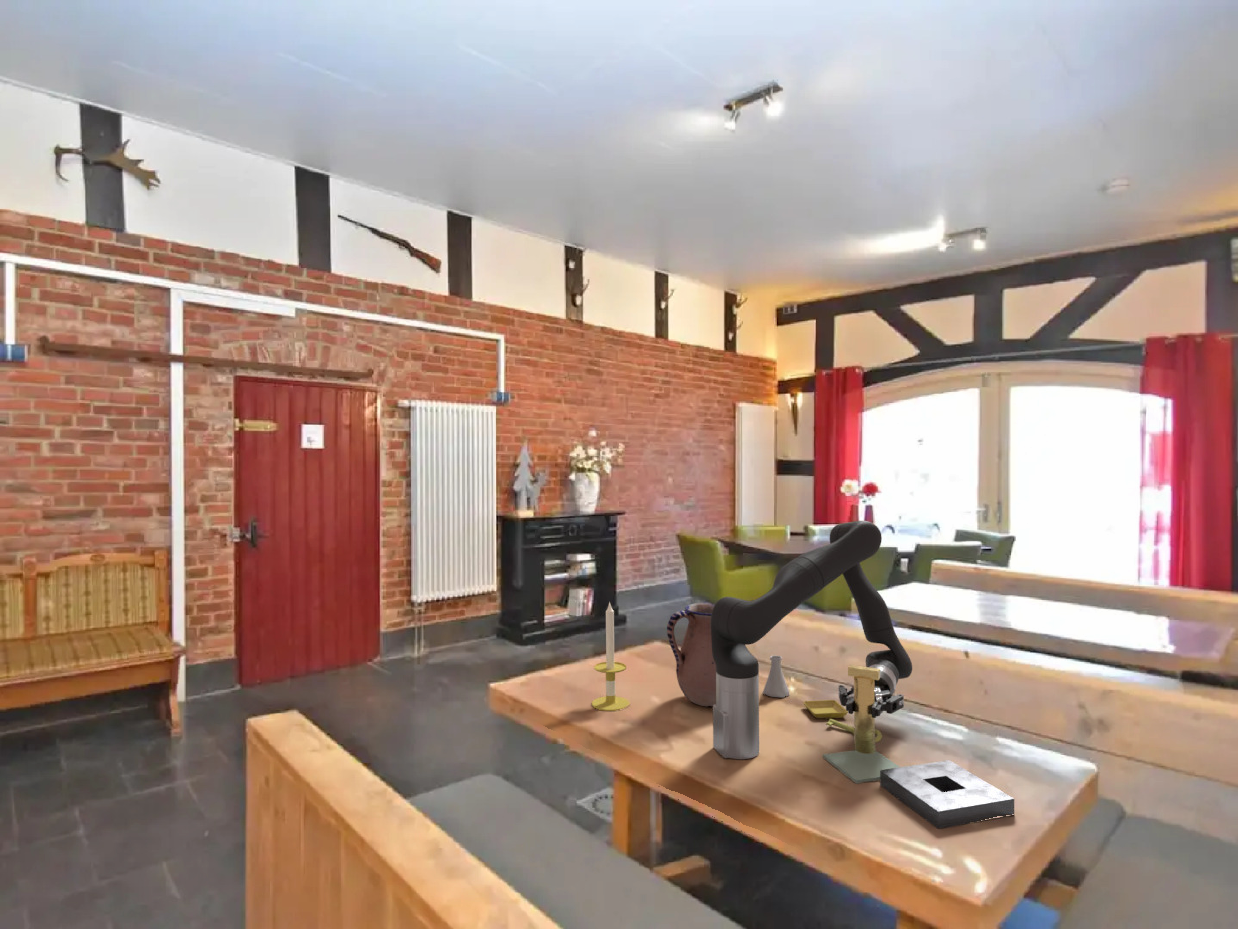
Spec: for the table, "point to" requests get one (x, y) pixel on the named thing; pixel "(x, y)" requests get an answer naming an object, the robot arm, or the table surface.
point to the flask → (776, 680)
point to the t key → (864, 707)
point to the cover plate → (946, 793)
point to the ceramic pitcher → (695, 654)
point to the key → (851, 728)
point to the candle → (610, 670)
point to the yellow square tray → (825, 709)
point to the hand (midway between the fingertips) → (861, 711)
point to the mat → (860, 764)
